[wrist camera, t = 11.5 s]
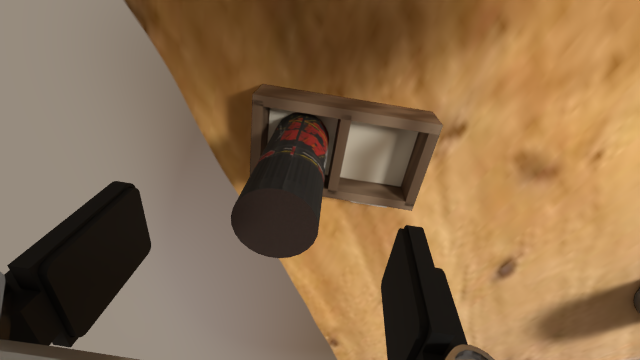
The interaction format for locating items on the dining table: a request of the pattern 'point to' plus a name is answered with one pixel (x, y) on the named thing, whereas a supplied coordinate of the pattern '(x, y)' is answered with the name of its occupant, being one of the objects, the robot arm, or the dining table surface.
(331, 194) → the divided compartment tray
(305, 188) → the deodorant
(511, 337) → the dining table surface
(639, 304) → the pillar candle
